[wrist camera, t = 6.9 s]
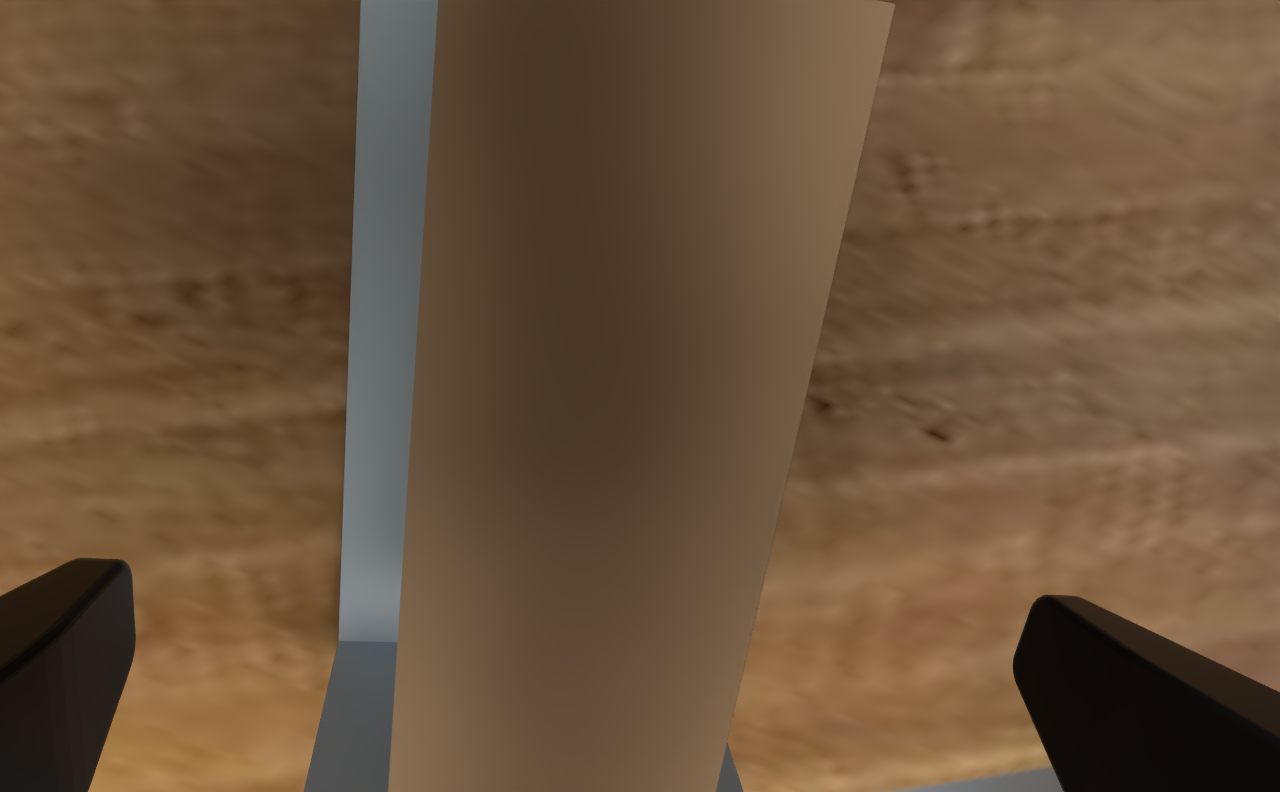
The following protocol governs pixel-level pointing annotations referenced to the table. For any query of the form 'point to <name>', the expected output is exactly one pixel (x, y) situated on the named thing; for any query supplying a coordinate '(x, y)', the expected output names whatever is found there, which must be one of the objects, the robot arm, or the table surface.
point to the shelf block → (612, 374)
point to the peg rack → (383, 393)
